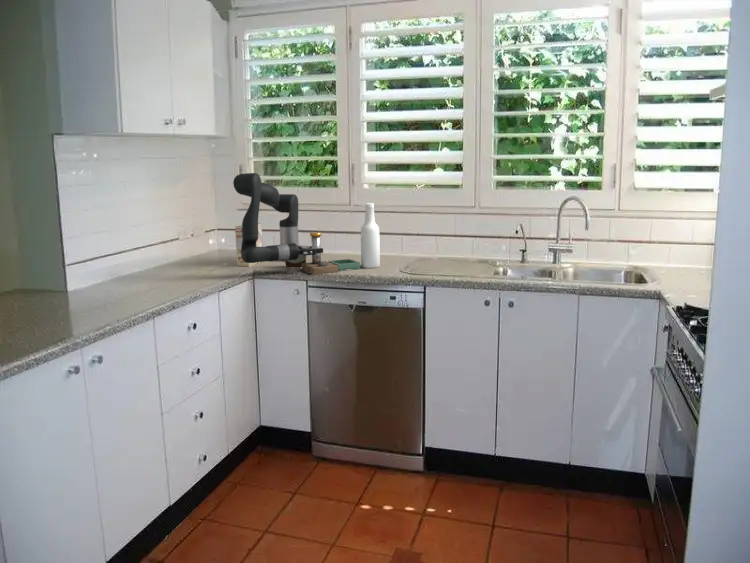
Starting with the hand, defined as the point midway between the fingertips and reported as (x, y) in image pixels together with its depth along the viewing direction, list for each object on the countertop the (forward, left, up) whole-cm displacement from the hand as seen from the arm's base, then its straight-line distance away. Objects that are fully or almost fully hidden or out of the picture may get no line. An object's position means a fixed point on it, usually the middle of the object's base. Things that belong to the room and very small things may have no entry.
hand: (319, 249), depth 312 cm
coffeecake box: (-33, -24, -10) cm, 42 cm away
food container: (-13, -7, -10) cm, 18 cm away
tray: (+2, +11, -10) cm, 15 cm away
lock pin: (0, -2, -10) cm, 10 cm away
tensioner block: (+3, -2, -10) cm, 10 cm away
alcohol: (+6, +23, -10) cm, 26 cm away
